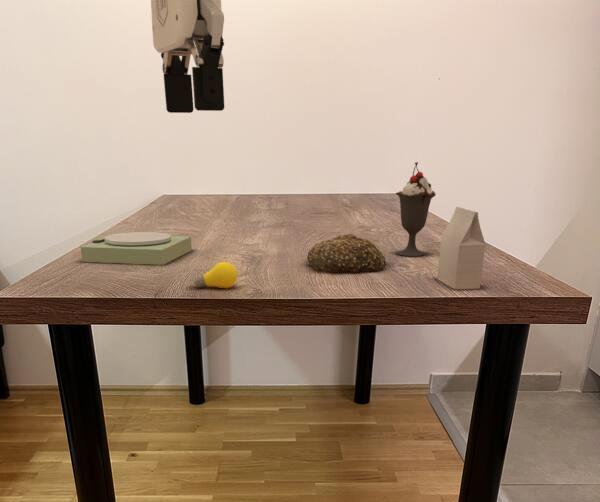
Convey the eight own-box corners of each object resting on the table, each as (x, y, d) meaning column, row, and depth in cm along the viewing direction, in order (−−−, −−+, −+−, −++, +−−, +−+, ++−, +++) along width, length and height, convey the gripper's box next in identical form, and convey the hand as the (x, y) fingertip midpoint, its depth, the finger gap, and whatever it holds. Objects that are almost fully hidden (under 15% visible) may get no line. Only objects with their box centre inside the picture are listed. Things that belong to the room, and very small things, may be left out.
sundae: (401, 258, 108) (408, 162, 102) (386, 251, 114) (391, 160, 108) (436, 256, 110) (445, 162, 103) (419, 250, 116) (427, 160, 109)
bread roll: (305, 273, 97) (306, 239, 94) (307, 258, 108) (307, 227, 106) (390, 274, 96) (392, 240, 94) (383, 259, 107) (385, 228, 105)
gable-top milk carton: (454, 289, 87) (462, 212, 83) (437, 279, 93) (444, 207, 89) (479, 288, 88) (489, 212, 83) (460, 278, 94) (469, 206, 89)
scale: (82, 261, 104) (79, 241, 103) (118, 247, 117) (116, 229, 115) (163, 265, 102) (161, 244, 101) (191, 250, 114) (190, 231, 113)
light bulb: (241, 288, 87) (232, 266, 84) (199, 300, 87) (189, 278, 85) (240, 276, 89) (232, 254, 87) (200, 288, 90) (190, 266, 87)
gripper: (123, -61, 70) (140, 113, 77) (172, -108, 56) (188, 109, 64) (188, -53, 73) (199, 113, 81) (250, -96, 60) (256, 109, 67)
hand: (194, 111), depth 72 cm, fingers open, 9 cm apart
